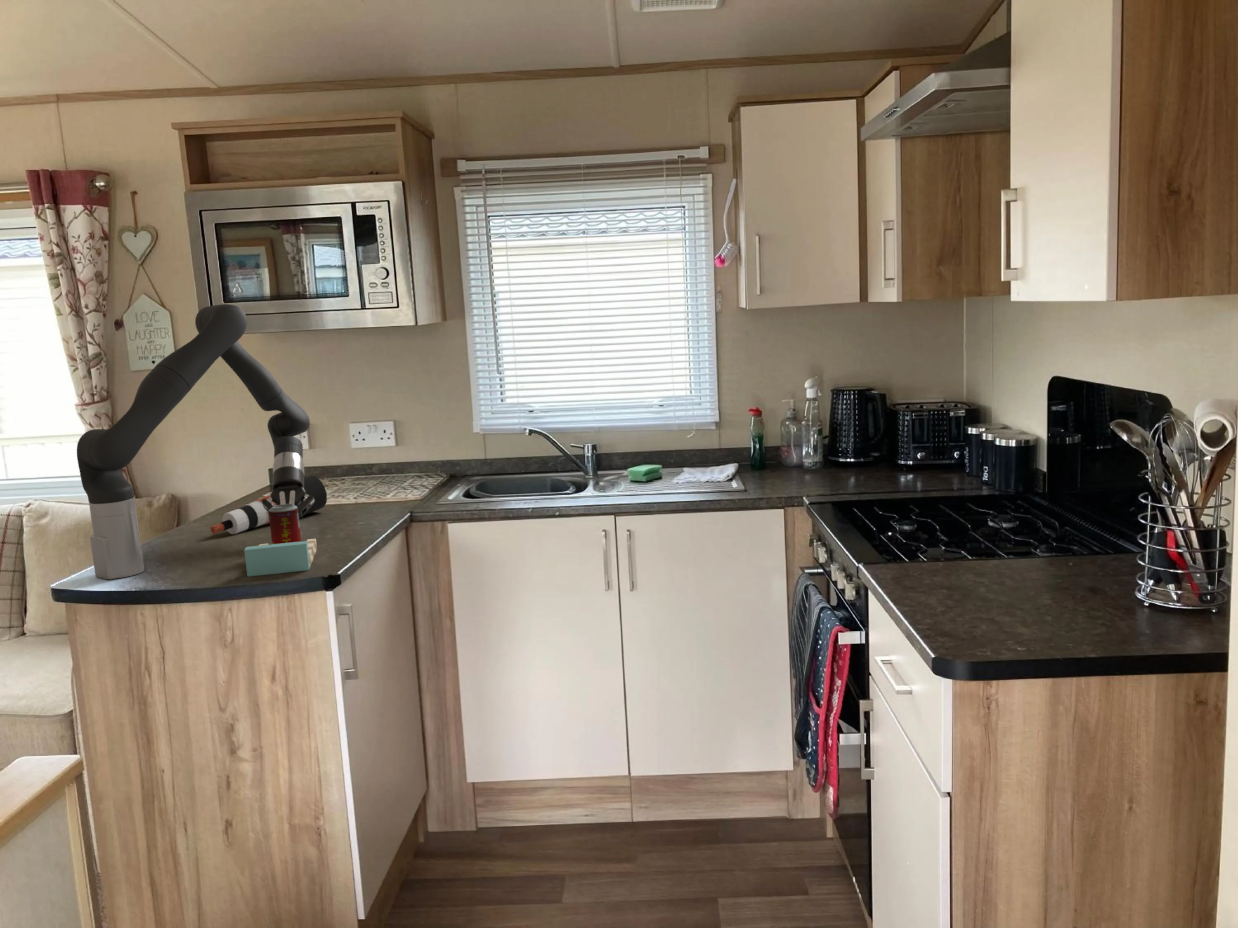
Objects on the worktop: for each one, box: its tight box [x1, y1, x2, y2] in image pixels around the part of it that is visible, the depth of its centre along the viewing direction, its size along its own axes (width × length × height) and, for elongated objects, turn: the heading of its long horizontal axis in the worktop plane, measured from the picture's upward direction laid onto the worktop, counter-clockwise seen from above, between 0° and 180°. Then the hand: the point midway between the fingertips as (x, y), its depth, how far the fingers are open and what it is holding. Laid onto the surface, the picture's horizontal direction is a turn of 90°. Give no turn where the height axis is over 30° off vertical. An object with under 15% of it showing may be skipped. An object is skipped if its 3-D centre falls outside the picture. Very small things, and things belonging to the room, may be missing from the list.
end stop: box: [244, 540, 311, 577], centre depth 219 cm, size 3×13×6 cm, turn 102°
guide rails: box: [258, 538, 318, 567], centre depth 229 cm, size 19×13×2 cm
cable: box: [209, 474, 328, 535], centre depth 272 cm, size 10×34×10 cm, turn 147°
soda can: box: [268, 504, 302, 544], centre depth 236 cm, size 7×7×12 cm
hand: (288, 530), depth 241 cm, fingers closed
